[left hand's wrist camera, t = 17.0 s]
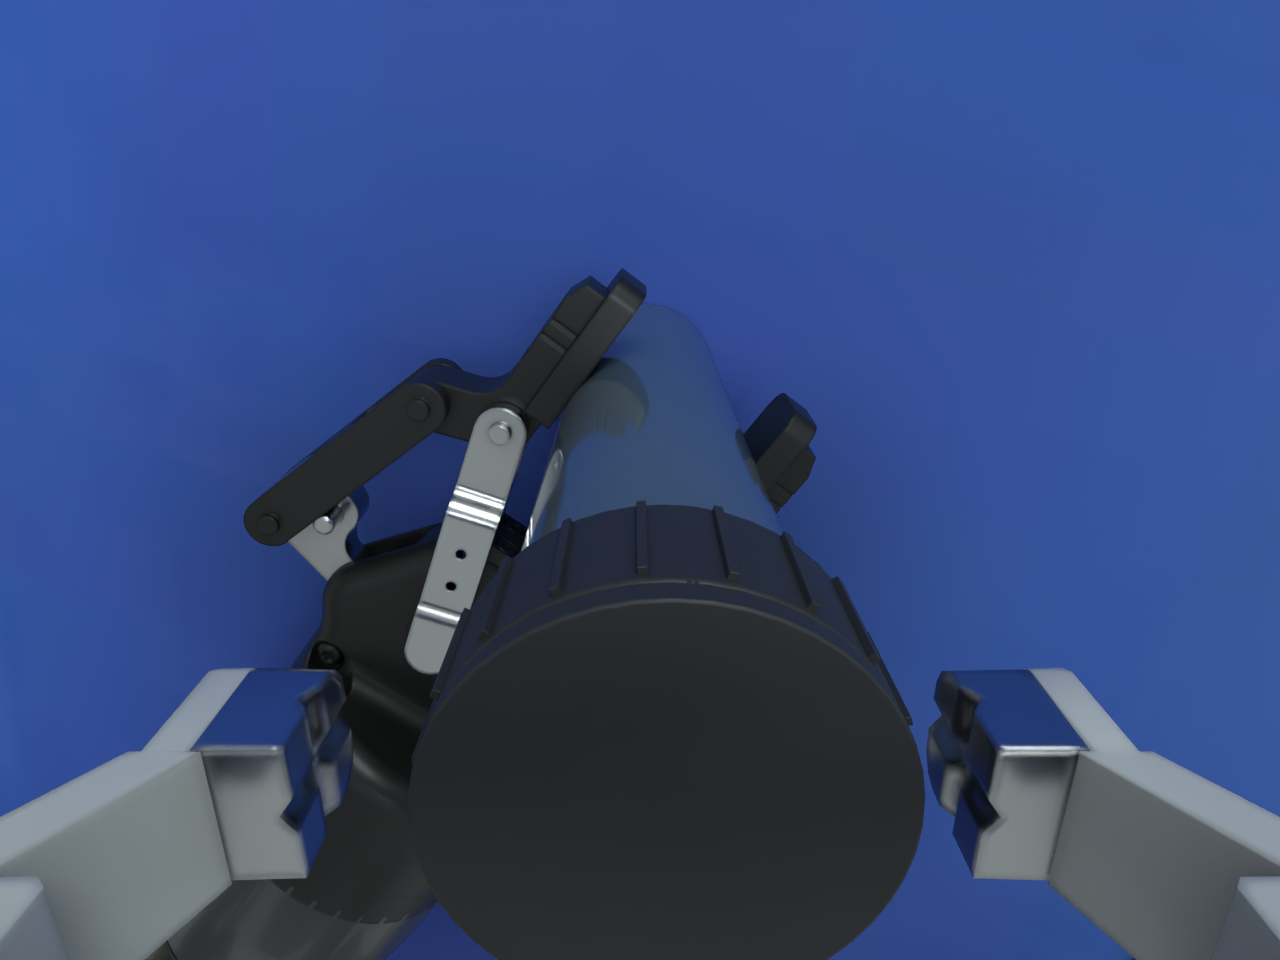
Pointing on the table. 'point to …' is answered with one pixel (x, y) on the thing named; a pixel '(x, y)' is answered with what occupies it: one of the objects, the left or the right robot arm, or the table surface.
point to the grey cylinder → (650, 433)
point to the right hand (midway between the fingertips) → (716, 349)
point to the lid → (664, 750)
